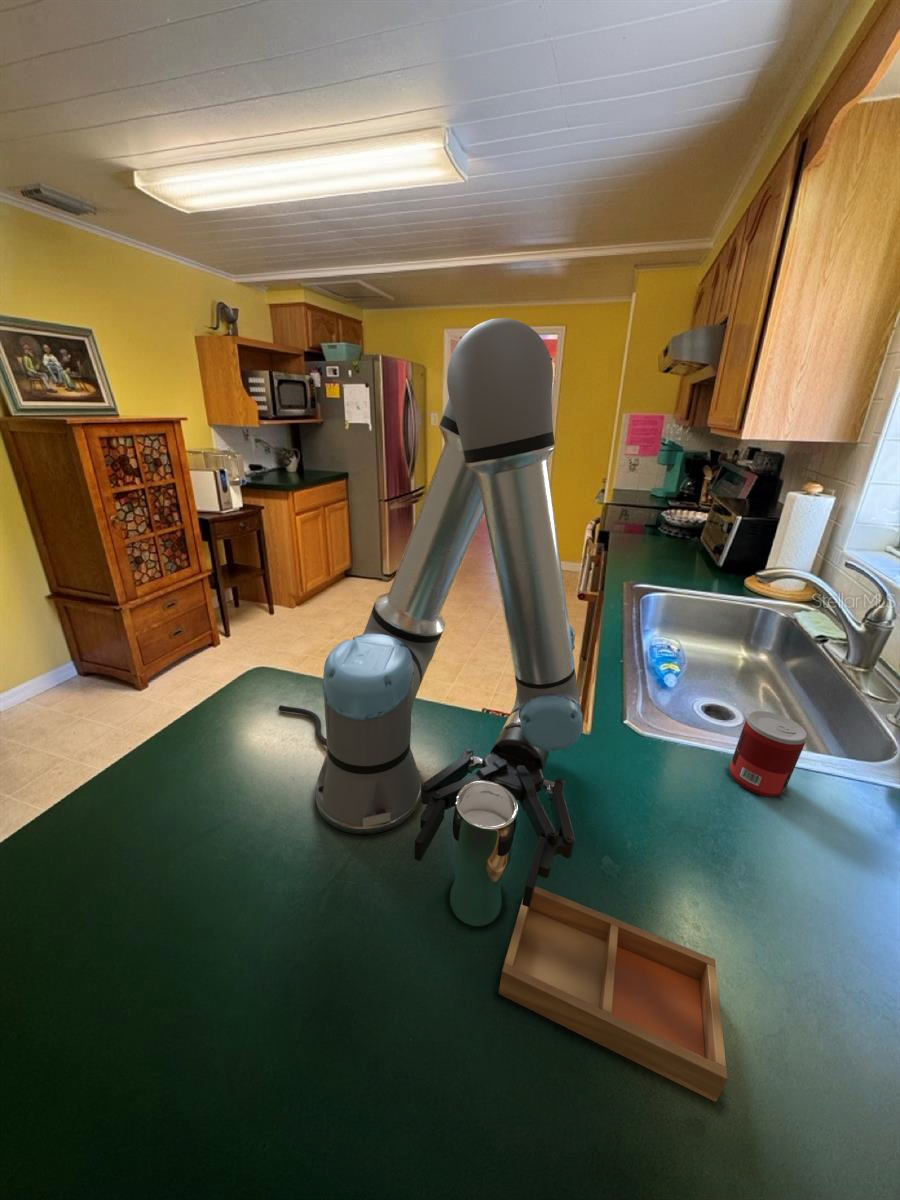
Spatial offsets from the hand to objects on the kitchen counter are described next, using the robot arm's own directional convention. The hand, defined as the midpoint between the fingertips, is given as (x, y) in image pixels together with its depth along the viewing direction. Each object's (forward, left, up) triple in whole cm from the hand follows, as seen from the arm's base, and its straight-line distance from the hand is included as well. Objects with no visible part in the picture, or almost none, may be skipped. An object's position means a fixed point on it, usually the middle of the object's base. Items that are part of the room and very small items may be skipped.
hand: (470, 873), depth 49 cm
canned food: (+35, +43, -9) cm, 56 cm away
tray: (+15, +1, -9) cm, 18 cm away
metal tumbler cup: (0, +4, -9) cm, 10 cm away
